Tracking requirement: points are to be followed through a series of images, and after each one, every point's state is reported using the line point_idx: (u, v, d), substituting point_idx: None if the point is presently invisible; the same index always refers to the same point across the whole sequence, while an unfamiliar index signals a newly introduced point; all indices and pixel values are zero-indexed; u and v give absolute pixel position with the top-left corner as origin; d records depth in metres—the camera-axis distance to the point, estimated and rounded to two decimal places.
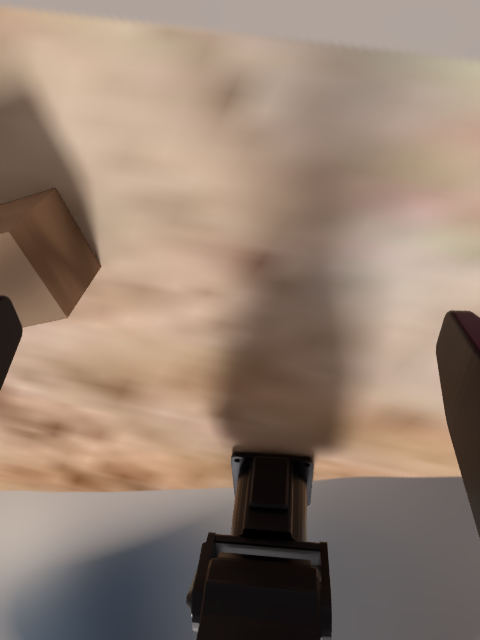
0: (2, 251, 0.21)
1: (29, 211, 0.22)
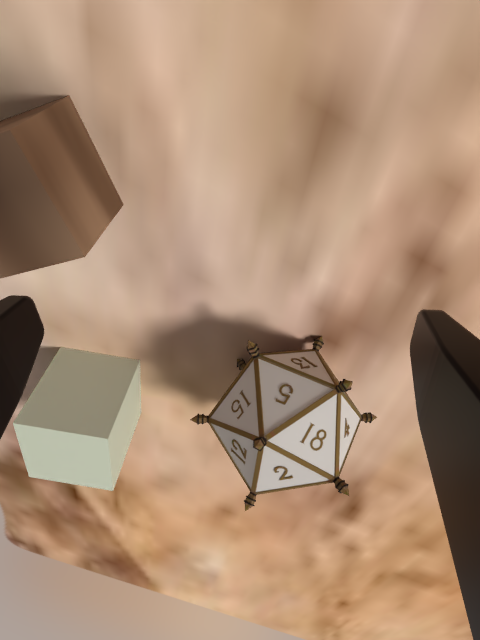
0: None
1: None
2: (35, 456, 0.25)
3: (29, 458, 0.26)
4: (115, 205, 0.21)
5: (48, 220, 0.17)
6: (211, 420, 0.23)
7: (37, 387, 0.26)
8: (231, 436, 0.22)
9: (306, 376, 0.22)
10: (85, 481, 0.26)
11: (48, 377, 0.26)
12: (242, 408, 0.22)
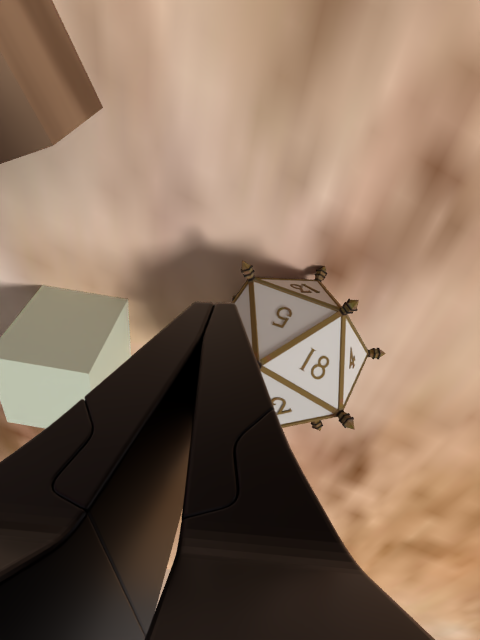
0: None
1: None
2: (13, 397, 0.23)
3: (6, 399, 0.24)
4: (93, 105, 0.19)
5: (9, 97, 0.15)
6: None
7: (14, 322, 0.24)
8: None
9: (306, 299, 0.19)
10: None
11: (27, 313, 0.24)
12: None
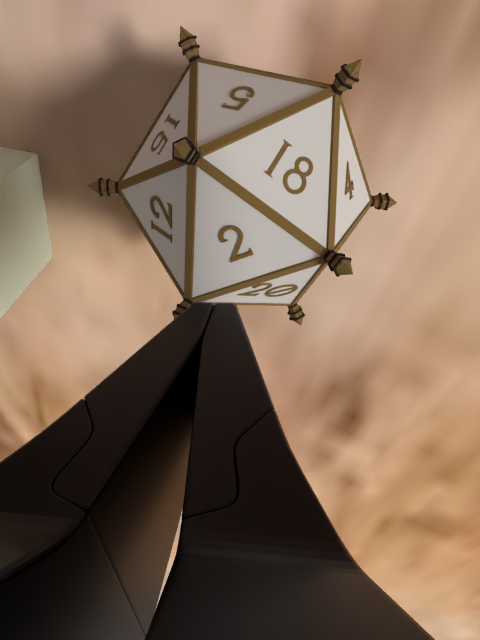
0: None
1: None
2: None
3: None
4: None
5: None
6: (121, 183, 0.14)
7: None
8: (149, 192, 0.13)
9: (278, 79, 0.12)
10: None
11: None
12: (166, 137, 0.12)
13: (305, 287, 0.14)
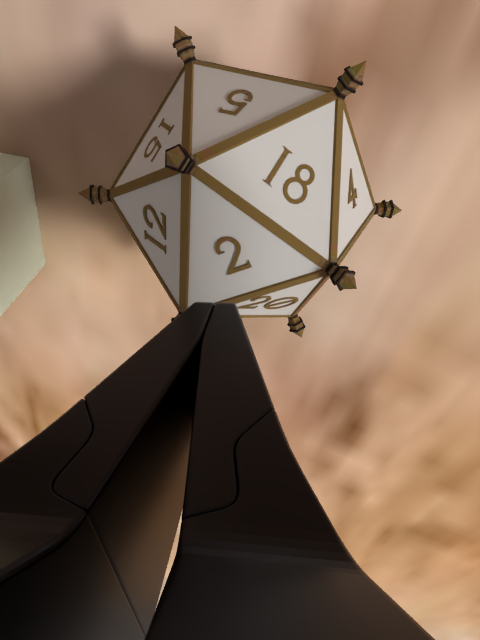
0: None
1: None
2: None
3: None
4: None
5: None
6: (113, 190, 0.13)
7: None
8: (142, 201, 0.12)
9: (278, 82, 0.12)
10: None
11: None
12: (159, 143, 0.12)
13: (306, 299, 0.14)
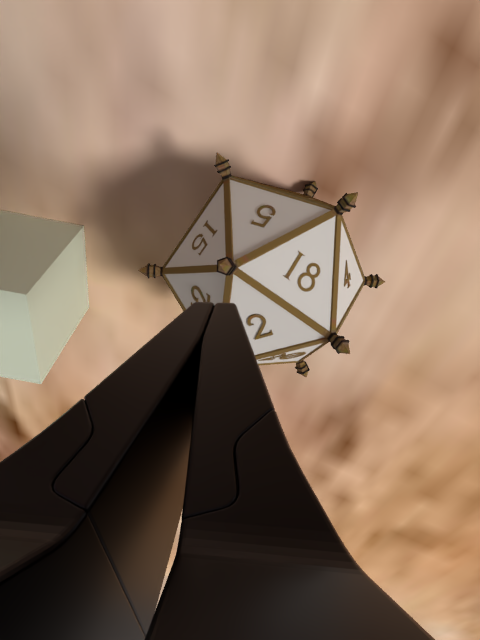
0: None
1: None
2: None
3: None
4: None
5: None
6: (165, 269, 0.17)
7: None
8: (190, 282, 0.16)
9: (293, 198, 0.16)
10: (4, 369, 0.20)
11: None
12: (205, 241, 0.16)
13: (311, 353, 0.18)
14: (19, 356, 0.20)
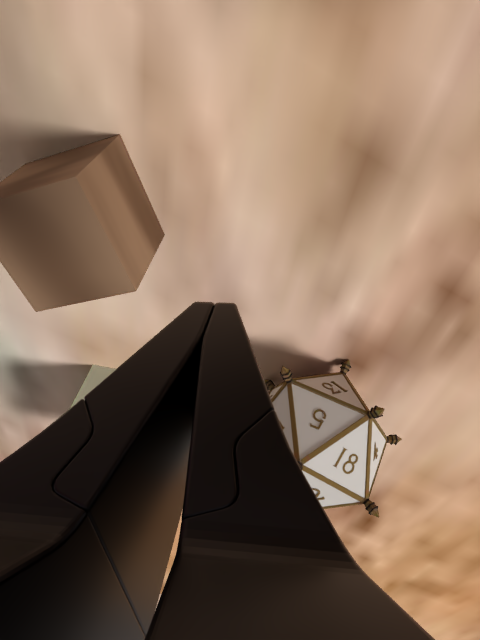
0: None
1: None
2: None
3: None
4: (158, 236, 0.22)
5: (104, 257, 0.18)
6: None
7: (73, 405, 0.26)
8: None
9: (338, 402, 0.23)
10: None
11: (83, 395, 0.27)
12: None
13: None
14: None
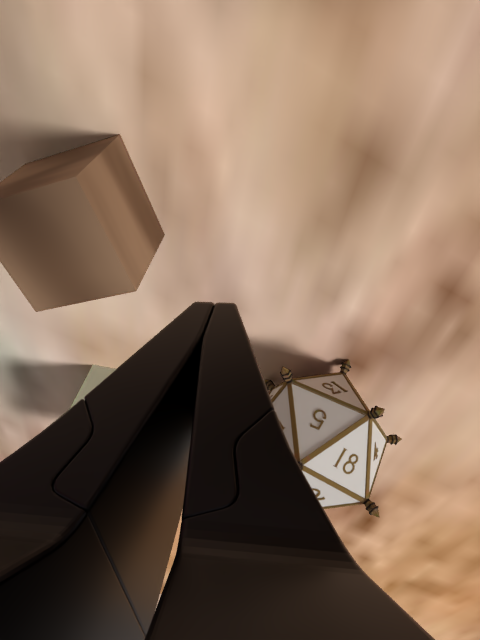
0: None
1: None
2: None
3: None
4: (158, 236, 0.22)
5: (104, 257, 0.18)
6: None
7: (73, 405, 0.26)
8: None
9: (338, 402, 0.23)
10: None
11: (83, 395, 0.27)
12: None
13: None
14: None
